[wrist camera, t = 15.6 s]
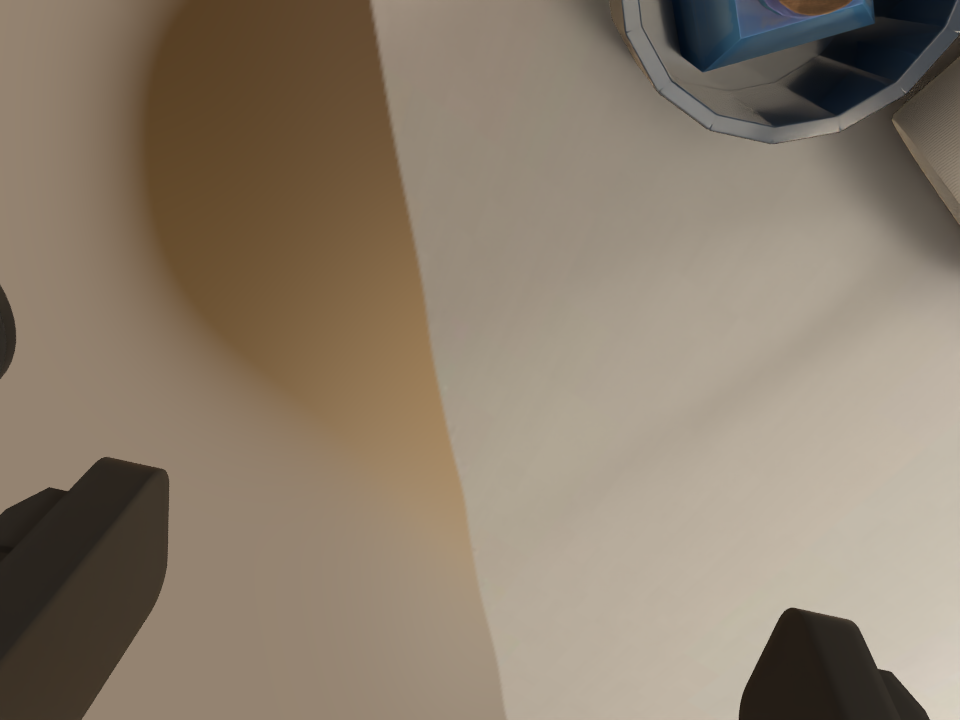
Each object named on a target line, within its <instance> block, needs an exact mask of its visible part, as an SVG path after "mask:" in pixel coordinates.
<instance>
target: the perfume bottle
mask: <svg viewBox="0 0 960 720" xmlns="http://www.w3.org/2000/svg"><path fill="white" fill-rule="evenodd" d="M672 5H673V11H674V16H675V22H676V28H677V34H678V39H679V45H680V51H681V56H682V57H683V58H684V59H685V60H687V61H688V62H689V63H691V64H692V65H693V66H695V67H696V68H697V69H698V70H700V71H701V72H702V73H703V72H707V71H710V70H714V69H717V68H721V67H724V66H728V65H731V64H735V63H738V62H742V61H745V60H749V59H752V58H756V57H759V56H763V55H766V54H770V53H773V52H777V51H780V50H784V49H787V48H791V47H794V46H798V45H801V44H805V43H808V42H812V41H815V40H819V39H822V38H826V37H829V36H833V35H836V34H840V33H844V32H847V31H851V30H854V29H858V28H861V27H865V26H868V25H872V24H875V17H874V5H873V0H672Z"/></svg>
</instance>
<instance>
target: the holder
mask: <svg viewBox="0 0 960 720" xmlns="http://www.w3.org/2000/svg"><path fill="white" fill-rule="evenodd" d="M609 2H610V10H611V18H612V21H613V22H614V24H615V26H616V28H617V30H618V31H619V33H620V35H621V37H622V39H623V41H624V42H625V44H626V46H627V47H628V49H629V51H630V53H631V55H632V56H633V58H634V60H635V62H636V64H637V65H638V66H639V68H640V69H641V70H642V72H643V73H644V74H645V76H646V77H647V79H648V80H649V81H650V83H651V84H652V85H653V87H654V88H655V89H656V91H657V92H658V93H659V94H660V95H662V96H663V97H664V98H666V99H667V100H668V101H670V102H671V103H672V104H674V105H675V106H676V107H678V108H679V109H681V110H682V111H683V112H685V113H686V114H687V115H689V116H690V117H691V118H693V119H694V120H695V121H697V122H698V123H699V124H701V125H702V126H703V127H705V128H706V129H708V130H710V131H713V132H718V133H722V134H727V135H731V136H736V137H740V138H745V139H750V140H754V141H759V142H763V143H768V144H777V143H783V142H788V141H794V140H800V139H805V138H811V137H817V136H823V135H828V134H834V133H839V132H840V131H843V130H845V129H847V128H848V127H850V126H852V125H854V124H855V123H857V122H859V121H861V120H862V119H864V118H866V117H868V116H869V115H871V114H873V113H875V112H876V111H878V110H880V109H881V108H883V107H885V106H887V105H888V104H890V103H892V102H894V101H895V100H897V99H899V98H901V97H902V96H904V95H905V94H907V93H908V92H909V90H910V89H911V88H912V87H913V86H914V85H915V84H916V83H917V82H918V80H919V79H920V78H921V77H922V76H923V75H924V74H925V73H926V72H927V70H928V69H929V68H930V67H931V66H932V65H933V64H934V63H935V61H936V60H937V59H938V58H939V57H940V56H941V55H942V54H943V53H944V51H945V50H946V49H947V48H948V47H949V46H950V45H951V44H952V43H953V41H954V40H955V39H956V38H957V37H958V36H959V34H960V0H873V5H874V17H875V24H872V25H868V26H865V27H861V28H858V29H854V30H851V31H847V32H844V33H840V34H836V35H833V36H829V37H826V38H822V39H819V40H815V41H812V42H808V43H805V44H801V45H798V46H794V47H791V48H787V49H784V50H780V51H777V52H773V53H770V54H766V55H763V56H759V57H756V58H752V59H749V60H745V61H742V62H738V63H735V64H731V65H728V66H724V67H721V68H717V69H714V70H710V71H707V72H703V73H702V72H701V71H700V70H698V69H697V68H696V67H695V66H693V65H692V64H691V63H689V62H688V61H687V60H685V59H684V58H683V57H682V56H681V51H680V45H679V39H678V34H677V28H676V22H675V16H674V11H673V5H672V0H609Z"/></svg>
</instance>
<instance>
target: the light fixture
mask: <svg viewBox="0 0 960 720" xmlns="http://www.w3.org/2000/svg"><path fill="white" fill-rule="evenodd" d="M892 122H893V124H894V126H895V128H896V130H897V131H898V133H899V135H900V136H901V138H902V140H903V141H904V143H905V145H906V146H907V148H908V149H909V151H910V152H911V154H912V156H913V157H914V159H915V160H916V162H917V163H918V165H919V166H920V168H921V169H922V171H923V172H924V174H925V175H926V177H927V178H928V180H929V181H930V183H931V184H932V186H933V187H934V189H935V190H936V192H937V193H938V195H939V196H940V198H941V199H942V201H943V202H944V203H945V205H946V206H947V208H948V209H949V211H950V212H951V214H952V215H953V217H954V218H955V219H956V221H957V222H958V224H959V225H960V57H959V58H957V59H956V60H955V61H954V62H953V63H952V64H950V65H949V66H948V67H947V68H946V69H945V70H944V71H942V72H941V73H940V74H939V75H938V76H937V77H935V78H934V79H933V80H932V81H931V82H930V83H929V84H927V85H926V86H925V87H924V88H923V89H922V90H921V91H919V92H918V93H917V94H916V95H915V96H914V97H912V98H911V99H910V100H909V101H908V102H907V103H906V104H904V105H903V106H902V107H901V108H900V109H899V110H898V111H897V112H896V113H895V114H894V115H893V117H892Z"/></svg>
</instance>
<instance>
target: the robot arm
mask: <svg viewBox="0 0 960 720" xmlns="http://www.w3.org/2000/svg"><path fill="white" fill-rule="evenodd" d="M168 511H169V478H168V474H167V472H166V471H165V470H164V469H160V468H155V467H151V466H146V465H141V464H137V463H132V462H127V461H123V460H119V459H114V458H109V457H104V458H101V459H100V460H98V461H97V462H96V463H95V464H94V465H93V466H92V467H91V468H90V469H89V470H88V471H87V472H86V473H85V474H84V475H83V476H82V477H81V479H79V481H78V482H77V483H76V484H75V485H74V486H73V487H72V488H71V489H70V490H69V491H63V490H59V489H54V488H50V487H49V488H47V489H45V490H43V491H41V492H39V493H37V494H35V495H33V496H31V497H29V498H27V499H25V500H23V501H21V502H19V503H18V504H16V505H14V506H12V507H10V508H8V509H6V510H5V511H4V512H3V513H2V514H1V515H0V720H82V718H83V716H84V715H85V713H86V712H87V710H88V709H89V707H90V706H91V704H92V703H93V701H94V699H95V698H96V696H97V694H98V693H99V692H100V690H101V689H102V687H103V685H104V684H105V682H106V681H107V679H108V678H109V676H110V675H111V673H112V671H113V670H114V668H115V667H116V665H117V664H118V662H119V661H120V659H121V657H122V656H123V654H124V653H125V651H126V650H127V648H128V647H129V645H130V643H131V642H132V640H133V639H134V637H135V636H136V634H137V632H138V631H139V629H140V628H141V626H142V625H143V623H144V622H145V620H146V619H147V617H148V616H149V614H150V612H151V611H152V608H153V607H154V605H155V603H156V601H157V599H158V596H159V594H160V591H161V588H162V585H163V582H164V578H165V574H166V568H167V556H168V555H167V554H168V553H167V552H168ZM739 720H930V719H929V717H928V715H927V713H926V711H925V710H924V709H923V708H922V706H921V705H920V704H919V703H918V702H917V701H916V700H915V698H914V697H913V696H912V695H911V694H910V693H909V692H908V690H907V689H906V688H905V687H904V686H903V685H902V684H901V682H900V681H899V680H898V679H897V678H896V677H895V676H894V674H893V673H892V672H890V671H885V670H881V669H877V666H876V664H875V662H874V660H873V658H872V655H871V653H870V651H869V649H868V647H867V645H866V642H865V640H864V638H863V636H862V634H861V632H860V630H859V628H858V627H857V625H856V624H855V623H854V622H852V621H851V620H848V619H843V618H838V617H834V616H829V615H825V614H820V613H815V612H811V611H806V610H802V609H797V608H789V609H787V610H786V611H784V612H783V614H782V615H781V617H780V618H779V620H778V622H777V624H776V626H775V628H774V630H773V632H772V634H771V636H770V638H769V640H768V642H767V644H766V646H765V648H764V650H763V652H762V654H761V656H760V658H759V661H758V663H757V665H756V667H755V669H754V671H753V673H752V675H751V677H750V679H749V681H748V683H747V685H746V687H745V689H744V692H743V695H742V699H741V703H740V710H739Z"/></svg>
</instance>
